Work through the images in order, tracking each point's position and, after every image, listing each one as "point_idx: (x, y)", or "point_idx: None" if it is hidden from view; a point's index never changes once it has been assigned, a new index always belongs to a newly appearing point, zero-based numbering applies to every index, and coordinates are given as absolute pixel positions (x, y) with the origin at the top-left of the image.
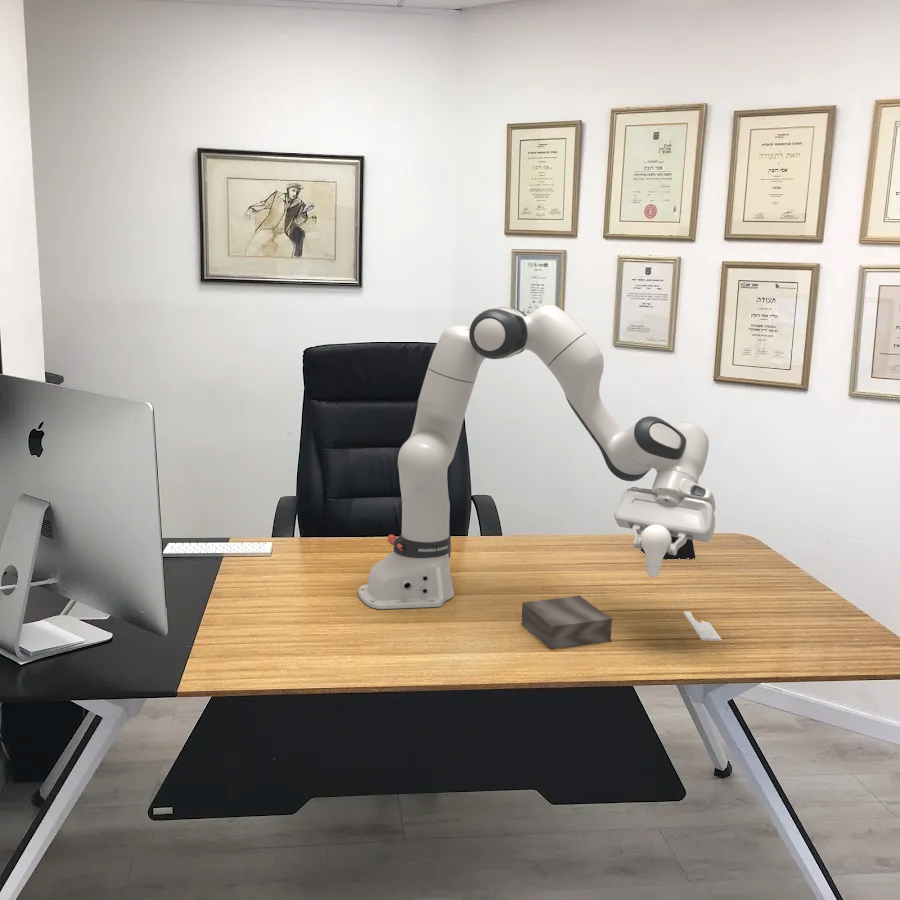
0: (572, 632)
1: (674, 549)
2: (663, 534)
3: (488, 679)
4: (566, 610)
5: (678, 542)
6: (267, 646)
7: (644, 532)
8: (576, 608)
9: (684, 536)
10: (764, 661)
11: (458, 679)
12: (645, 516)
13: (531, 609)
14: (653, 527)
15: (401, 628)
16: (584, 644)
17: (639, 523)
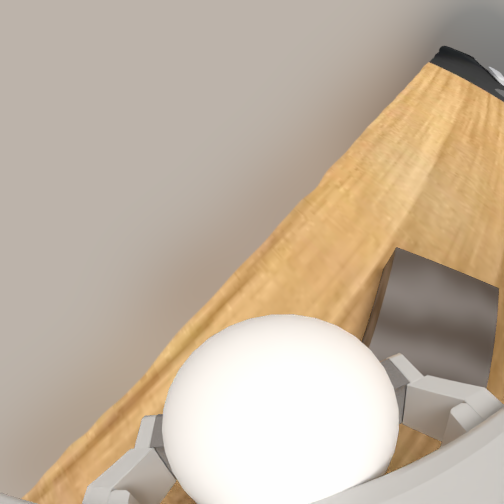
0: (381, 293)
1: (143, 420)
2: (180, 384)
3: (350, 155)
4: (442, 328)
5: (123, 458)
6: (480, 107)
7: (344, 333)
8: (440, 353)
9: (86, 494)
10: None
11: (367, 139)
12: (496, 479)
13: (471, 277)
14: (286, 370)
15: (501, 184)
16: (366, 328)
17: (480, 424)
